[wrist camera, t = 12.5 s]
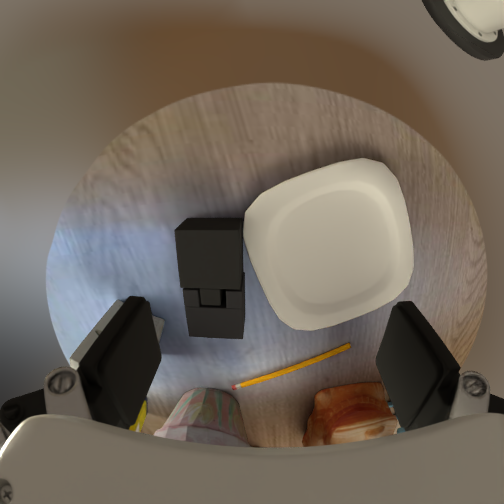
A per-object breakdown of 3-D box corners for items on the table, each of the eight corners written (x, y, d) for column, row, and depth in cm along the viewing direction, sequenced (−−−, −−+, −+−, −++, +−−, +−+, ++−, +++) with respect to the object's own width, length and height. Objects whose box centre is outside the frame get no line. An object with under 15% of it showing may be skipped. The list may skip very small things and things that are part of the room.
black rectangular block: (186, 218, 29) (174, 229, 24) (242, 217, 28) (239, 229, 24) (192, 284, 31) (182, 304, 27) (243, 285, 31) (240, 306, 27)
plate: (226, 201, 28) (224, 204, 26) (385, 145, 25) (391, 145, 23) (285, 334, 34) (286, 343, 32) (413, 285, 31) (419, 291, 29)
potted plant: (132, 368, 37) (74, 499, 14) (254, 365, 36) (247, 540, 12) (170, 429, 44) (144, 534, 20) (269, 429, 42) (269, 549, 19)
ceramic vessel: (397, 358, 35) (434, 432, 21) (359, 440, 45) (372, 496, 31) (312, 368, 36) (328, 458, 22) (297, 448, 45) (301, 508, 31)
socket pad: (192, 270, 31) (182, 289, 27) (244, 272, 31) (242, 291, 26) (197, 314, 33) (189, 336, 29) (245, 316, 33) (243, 339, 29)
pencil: (231, 384, 37) (231, 387, 37) (348, 341, 34) (350, 344, 33) (234, 387, 38) (234, 390, 37) (350, 345, 34) (351, 348, 34)
